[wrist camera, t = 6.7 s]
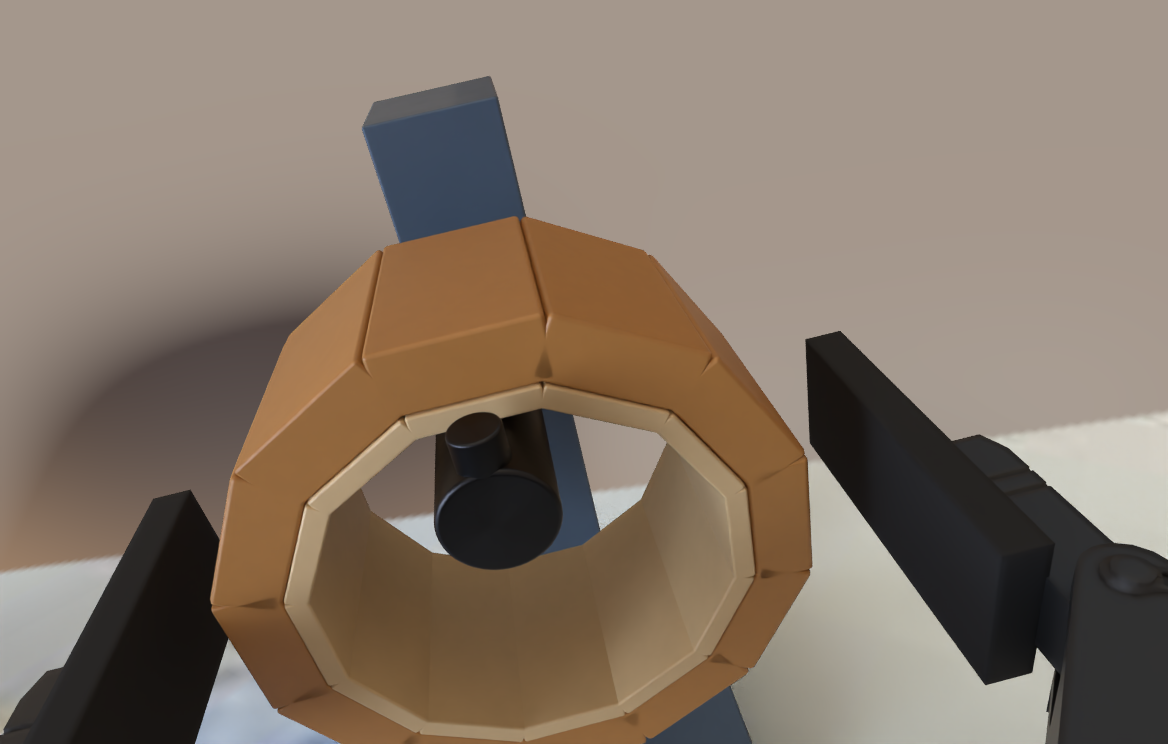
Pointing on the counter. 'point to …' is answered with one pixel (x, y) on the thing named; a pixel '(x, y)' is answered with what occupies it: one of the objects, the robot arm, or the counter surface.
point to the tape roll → (551, 581)
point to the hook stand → (482, 440)
